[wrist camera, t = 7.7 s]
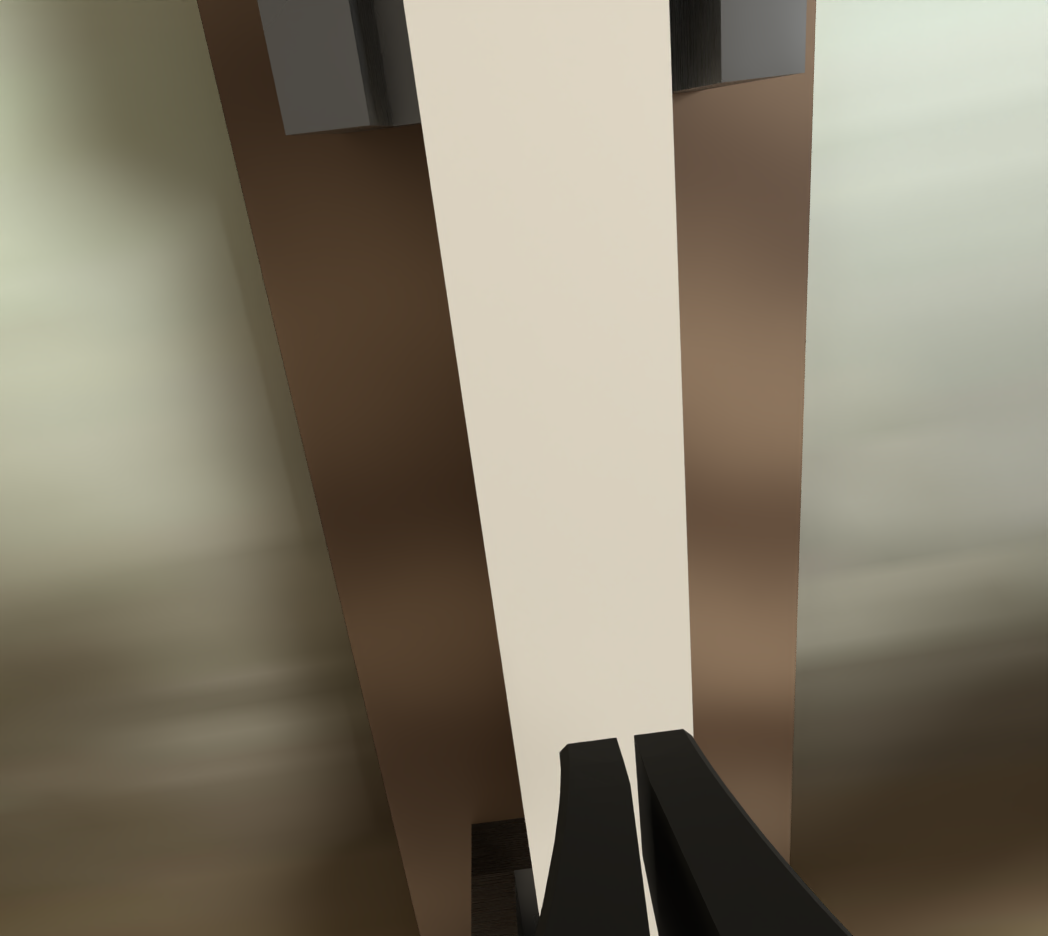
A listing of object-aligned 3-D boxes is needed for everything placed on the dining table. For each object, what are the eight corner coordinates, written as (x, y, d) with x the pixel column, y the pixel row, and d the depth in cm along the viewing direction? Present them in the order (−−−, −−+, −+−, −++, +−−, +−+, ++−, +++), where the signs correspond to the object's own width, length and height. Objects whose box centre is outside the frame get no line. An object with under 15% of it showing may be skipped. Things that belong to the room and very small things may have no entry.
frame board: (774, 923, 23) (787, 956, 22) (437, 968, 23) (436, 1001, 22) (801, -398, 12) (829, -442, 11) (138, -322, 12) (110, -360, 11)
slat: (673, 963, 20) (705, 1097, 17) (555, 979, 20) (569, 1114, 17) (609, -234, 11) (656, -362, 8) (385, -207, 11) (354, -326, 8)
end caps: (720, 952, 22) (776, 1140, 18) (500, 981, 22) (507, 1176, 18) (694, -378, 11) (825, -677, 7) (257, -328, 11) (129, -598, 7)
